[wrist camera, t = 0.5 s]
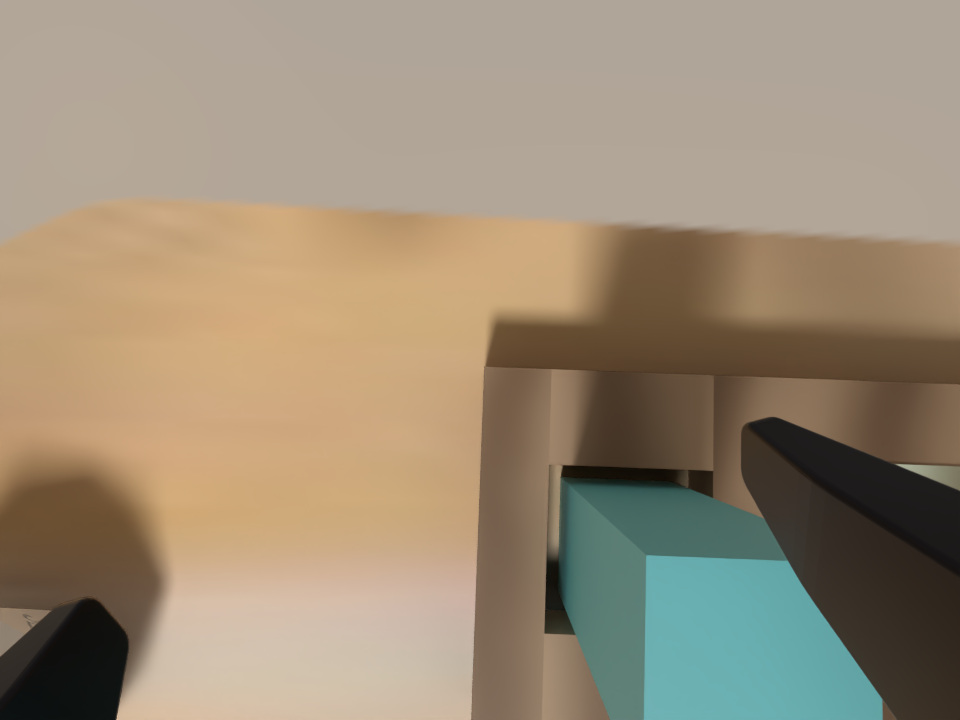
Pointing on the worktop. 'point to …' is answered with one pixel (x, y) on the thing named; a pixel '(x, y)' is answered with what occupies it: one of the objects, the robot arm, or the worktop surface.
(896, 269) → the worktop surface
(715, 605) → the teal block
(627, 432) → the puzzle board
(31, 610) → the die
